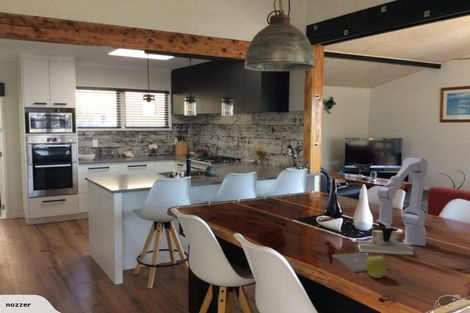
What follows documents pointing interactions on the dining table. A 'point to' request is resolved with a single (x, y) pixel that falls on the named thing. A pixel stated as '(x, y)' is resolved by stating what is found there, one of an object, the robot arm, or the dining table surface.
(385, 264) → the apple
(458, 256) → the dining table surface
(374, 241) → the oak frame
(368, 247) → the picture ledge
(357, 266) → the play button award
